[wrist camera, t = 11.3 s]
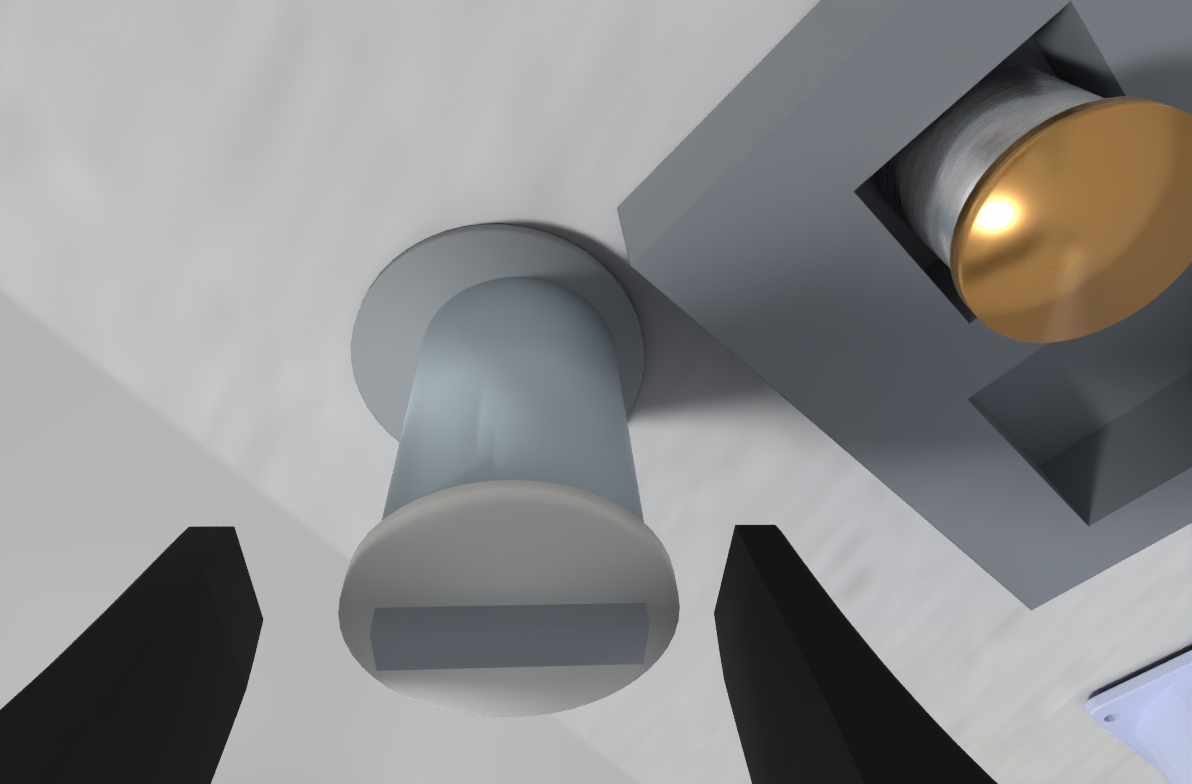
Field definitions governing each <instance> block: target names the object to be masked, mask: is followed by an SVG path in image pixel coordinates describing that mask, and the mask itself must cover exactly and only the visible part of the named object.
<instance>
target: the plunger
mask: <svg viewBox="0 0 1192 784" xmlns="http://www.w3.org/2000/svg"><path fill="white" fill-rule="evenodd" d="M879 182H880V187H881V191H882V194H883V196H884V198H885V200H886V203H887V204H888V206H889V207H890V208H891V210H892V211H893V212H894V213H895V214H896V215H897V216H898V217H899V218H900V219H901V220H902V221H903V222H904V223H905V224H906V225H907V226H908V227H909V228H910V229H911V230H912V231H913V232H914V233H915V234H916V235H917V236H918V237H919V238H920V239H921V240H922V241H923V242H924V243H925V244H926V245H927V246H928V247H929V248H930V249H931V250H932V251H933V252H934V253H935V254H936V255H937V256H938V257H939V258H940V259H941V260H942V261H943V262H944V263H945V264H946V265H947V266H948V267H949V268H950V269H951V275H952V279H953V283H954V286H955V288H956V290H957V292H958V294H959V296H960V297H961V299H962V300H963V302H964V303H965V305H966V306H967V307H968V308H969V309H970V310H971V311H972V312H973V313H974V314H975V315H976V316H977V317H978V318H979V319H980V320H981V321H982V322H983V323H984V324H985V325H986V326H987V327H989V328H990V329H992V330H993V331H995V332H996V333H998V334H1001V335H1003V336H1005V337H1007V338H1010V339H1014V340H1018V341H1023V342H1031V343H1052V342H1060V341H1066V340H1071V339H1076V338H1080V337H1083V336H1086V335H1089V334H1092V333H1095V332H1098V331H1100V330H1102V329H1105V328H1107V327H1110V326H1112V325H1114V324H1116V323H1118V322H1119V321H1121V320H1123V319H1125V318H1127V317H1129V316H1130V315H1132V314H1133V313H1135V312H1137V311H1138V310H1140V309H1141V308H1143V307H1144V306H1145V305H1147V304H1148V303H1149V302H1151V301H1152V300H1154V299H1155V298H1156V297H1157V296H1158V295H1160V294H1161V293H1162V292H1163V291H1164V290H1165V289H1167V288H1168V287H1169V286H1170V285H1171V284H1172V283H1173V282H1174V281H1175V280H1176V279H1177V278H1178V277H1179V276H1180V275H1181V274H1182V273H1183V271H1184V270H1185V269H1186V268H1187V267H1188V265H1189V264H1190V263H1191V262H1192V115H1191V114H1189V113H1187V112H1184V111H1182V110H1179V109H1177V108H1174V107H1171V106H1169V105H1166V104H1164V103H1161V102H1158V101H1156V100H1153V99H1147V98H1142V97H1128V96H1120V97H1111V98H1103V97H1100V96H1098V95H1096V94H1093V93H1091V92H1089V91H1086V90H1084V89H1082V88H1079V87H1077V86H1075V85H1072V84H1070V83H1068V82H1065V81H1063V80H1061V79H1058V78H1056V77H1054V76H1051V75H1049V74H1047V73H1044V72H1042V71H1040V70H1037V69H1035V68H1033V67H1030V66H1028V65H1026V64H1023V63H1021V62H1018V61H1015V60H1013V59H1008V58H1005V59H1004V60H1003V61H1002V62H1001V63H1000V64H998V65H997V66H996V67H995V68H994V69H993V70H992V71H990V72H989V73H988V74H987V75H986V76H985V77H984V78H982V79H981V80H980V81H979V82H978V83H977V84H976V85H974V86H973V87H972V88H971V89H970V90H969V91H968V92H966V93H965V94H964V95H963V96H962V97H961V98H960V99H958V100H957V101H956V102H955V103H954V104H953V105H952V106H950V107H949V108H948V109H947V110H946V111H945V112H944V113H942V114H941V115H940V116H939V117H938V118H937V119H936V120H934V121H933V122H932V123H931V124H930V125H929V126H928V127H926V128H925V129H924V130H923V131H922V132H921V133H920V134H918V135H917V136H916V137H915V138H914V139H913V140H912V141H910V142H909V143H908V144H907V145H906V146H905V147H904V148H902V149H901V150H900V151H899V152H898V153H897V154H896V155H894V156H893V157H892V158H891V159H890V160H889V161H888V162H886V163H885V164H884V165H883V166H882V167H881V168H880V169H879Z"/></svg>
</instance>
